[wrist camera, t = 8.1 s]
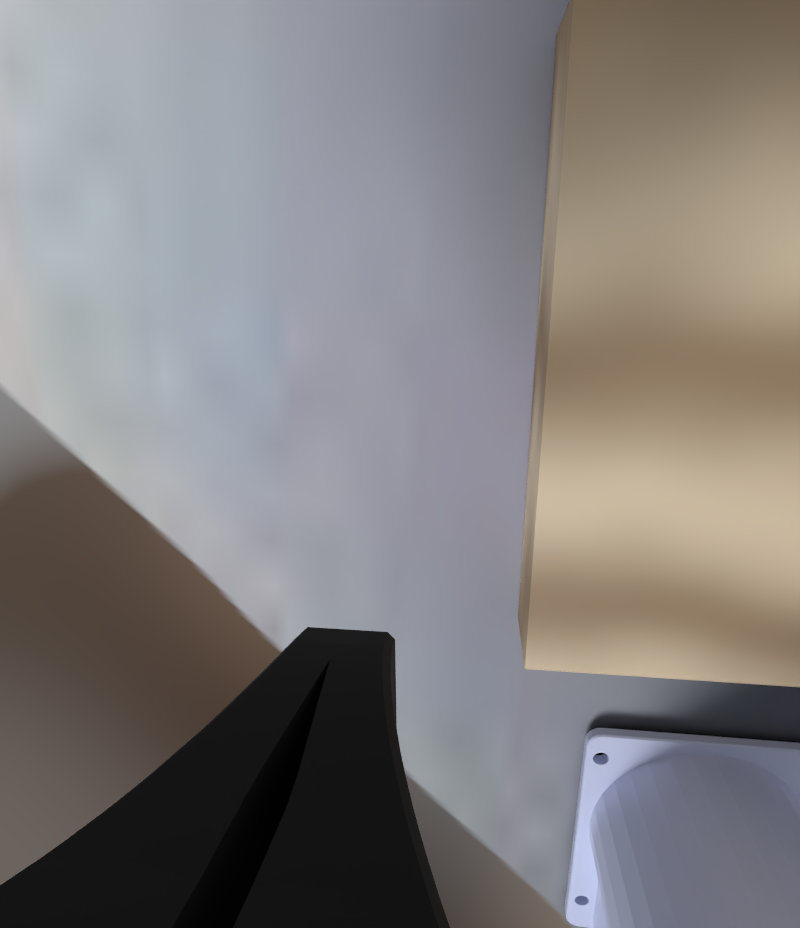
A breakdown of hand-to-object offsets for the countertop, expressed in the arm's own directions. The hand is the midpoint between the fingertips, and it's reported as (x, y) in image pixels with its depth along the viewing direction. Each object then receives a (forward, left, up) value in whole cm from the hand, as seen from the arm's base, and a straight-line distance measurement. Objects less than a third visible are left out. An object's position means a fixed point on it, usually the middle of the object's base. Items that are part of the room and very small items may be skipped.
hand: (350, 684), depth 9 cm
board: (+3, -10, -9) cm, 14 cm away
